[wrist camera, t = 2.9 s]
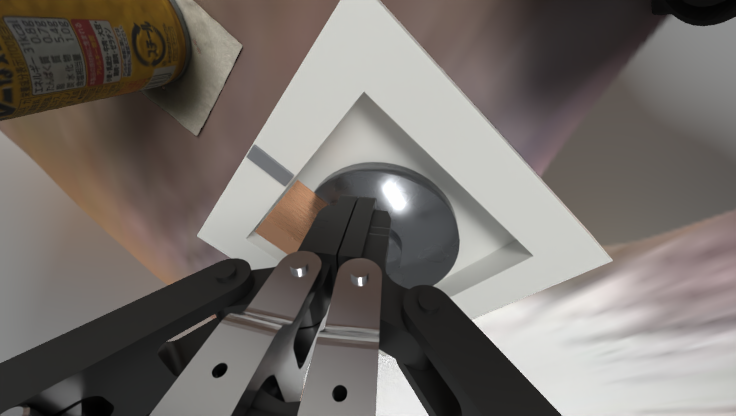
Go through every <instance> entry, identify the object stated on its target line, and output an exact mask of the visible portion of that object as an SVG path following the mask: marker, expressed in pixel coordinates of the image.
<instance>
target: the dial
mask: <svg viewBox="0 0 736 416" xmlns="http://www.w3.org/2000/svg"><path fill="white" fill-rule="evenodd" d="M340 195H351V196H358V197H359V196H362V197H372V198H377V207H376V210H382V211H388V213H389V215H390V217H391V230H390V241H389V251H388V258H387V265H386V273H387V275H388V276H389V277H390V279H391V280H392V281H394V282H395V283H397V284H398V285H400V286H403V287H405V288H407V289H410V288H412V287H414V286H417V285H430V286H434V285H435V284H437V283H438V282H439V281H441V280H442V279H443V278H444V277H445V276H446V275H447V274H448V273H449V272H450V270H451V269H452V267H453V266H454V264H455V262H456V259H457V257H458V252H459V245H460V239H459V231H458V225H457V220H456V216H455V212H454V209H453V207H452V205H451V203H450V201H449V200H448V198H447V197H446V195H445V194H444V193H443V192H442V191H441V189H440V188H439V187H438V186H437V185H435V184H434V183H433V182H432V181H431V180H429V179H428V178H426V177H425V176H423V175H421V174H420V173H418V172H416V171H414V170H411V169H409V168H406V167H403V166H400V165H396V164H391V163H384V162H365V163H359V164H353V165H350V166H347V167H344V168H342V169H340V170H338V171H336V172H334V173H332V174H331V175H329V176H328V177H326V178H325V179H324V180H323V181H322V182H321V183H320V184H319V185H318V187H317V188H316V189H315V191H314V192H313V191H311V190H310V189H309V188H308V187H306V186H305V185H304V184H302V183H301V182H300V181H299V180H297V181H296V182H295V183H294V184H293V186H292V187H291V188H290V189H289V190H288V192H287V193H286V194H285V195H284V196H283V198H282V199H281V200H280V201H279V203H278V204H277V205H276V206H275V207H274V209H273V210H272V211H271V212H270V213H269V215H268V216H267V217H266V218H265V219H264V221H263V222H262V223H261V224H260V225H259V227H258V228H257V229H256V230H255V232H256V233H257V234H259V235H260V236H261V237H263V238H264V239H266V240H267V241H269V242H270V243H272V244H273V245H274V246H276V247H277V248H279V249H280V250H282V251H283V252H285V253H286V254H288V255H289V254H291V253H293V252H297V250H298V249H299V247H300V245H301V243H302V241H303V239H304V238H305V236H306V234H307V232H308V230H309V229H310V228H311V225H312V223H313V221H314V220H315V218H316V216H317V214H318V212H319V211H320V210H321V209H323V208H324V207H325V206H327V205H334V206H335V205H336V203H337V201H338V199H339V197H340Z"/></svg>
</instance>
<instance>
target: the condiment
mask: <svg viewBox="0 0 736 416" xmlns="http://www.w3.org/2000/svg"><path fill="white" fill-rule="evenodd" d="M193 39H195V40H196V43H197V45H195V44H194V43H193ZM197 47H199V49H200V51H201V54H199V53H198V51H197ZM241 48H242V45H241V44H240V43H239V42H238V41H237V40H236V39H235V38H234V37H232V36H231V35H230V34H229V33H228V32H227V31H226V30H225V29H224V28H223V27H222V26H221V25H220V24H219V23H217V22H216V21H215V20H214V19H213V18H211V17H210V16H209V15H208V14H207V13H206V12H205V11H204V10H203V9H202V8H201V7H200V6H199V5H198V4H197V3H195V2H194V1H193V0H0V121H2V120H7V119H12V118H16V117H21V116H25V115H30V114H34V113H39V112H43V111H47V110H52V109H58V108H62V107H66V106H71V105H76V104H80V103H84V102H89V101H94V100H99V99H104V98H109V97H113V96H117V95H122V94H127V93H131V92H136V91H140V92H142V93H143V94H144V95H145V96H146V97H147V98H148V99H150V100H151V101H152V102H154V103H156V104H157V105H158V106H160V107H161V108H162V109H163V110H165V111H166V112H168V113H169V114H170V115H171V116H172V117H174V118H175V119H176V120H177V121H178V122H179V123H180V124H181V125H182V126H184V127H185V128H186V129H188V130H189V131H191V132H192V133H193V134H194V135H196V136H197V135H198V133H199V131H200V129H201V127H202V126H203V125H204V123H205V121H206V119H207V117H208V115H209V113H210V111H211V109H212V108H213V106H214V103H215V101H216V99H217V97H218V95H219V93H220V91H221V90H222V88H223V87H224V83H225V81H226V78H227V77H228V74H229V73H230V71H231V69H232V67H233V65H234V62H235V60H236V58H237V56H238V54H239V52H240V50H241ZM162 86H164V87H165V90H164V89H162V88H161V87H162Z"/></svg>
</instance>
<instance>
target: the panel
mask: <svg viewBox="0 0 736 416" xmlns="http://www.w3.org/2000/svg"><path fill="white" fill-rule="evenodd" d="M365 162H384V163H391V164H396V165H400V166H403V167H406V168H409V169H411V170H414V171H416V172H418V173H420V174H421V175H423V176H425V177H426V178H428V179H429V180H431V181H432V182H433V183H434V184H435V185H437V186H438V187H439V188H440V189H441V191H442V192H443V193H444V194H445V195H446V197H447V198H448V200H449V201H450V203H451V205H452V207H453V209H454V212H455V216H456V220H457V225H458V231H459V239H460V245H459V252H458V257H457V259H456V262H455V264H454V266H453V267H452V269H451V270H450V272H449V273H448V274H447V275H446V276H445V277H444V278H443V279H442V280H441V281H439V282H438V283H437V284H435V285H434V287H436V288H438V289H440V290H442V291H443V292H445V293H446V294H447V295H448V296H449V297H450V298H451V299H452V301H453V302H454V303H455V304H456V305H457V306H458V307H459V308H460V309H461V310H462V311H463V312H464V313H465V314H466V315H467V316H468V317H469V318H470V319H471V320H472V319H474V318H477V317H479V316H482V315H484V314H486V313H489V312H491V311H494V310H496V309H498V308H501V307H503V306H506V305H508V304H510V303H513V302H515V301H518V300H520V299H522V298H525V297H527V296H529V295H532V294H534V293H537V292H539V291H541V290H544V289H546V288H549V287H551V286H553V285H556V284H558V283H561V282H563V281H565V280H568V279H570V278H573V277H575V276H577V275H580V274H582V273H585V272H587V271H589V270H592V269H594V268H597V267H599V266H601V265H604V264H606V263H609V262H611V261H613V260H612V259H611V258H610V256H609V255H608V254H607V253H606V252H605V250H604V249H603V248H602V247H601V245H600V244H599V243H598V242H597V241H596V239H595V238H594V237H593V236H592V235H591V233H590V232H589V231H588V230H587V229H586V228H585V227H584V226H583V224H582V223H581V222H580V221H579V220H578V219H577V218H576V217H575V216H574V215H573V213H571V211H570V210H569V209H568V208H567V207H566V206H565V205H564V203H563V202H562V201H561V200H560V199H559V198H558V197H557V196H556V195H555V194H554V192H553V191H552V190H551V189H550V188H549V187H548V186H547V185H546V184H545V182H544V181H543V180H542V179H541V178H540V177H539V176H538V175H537V174H536V172H535V171H534V170H533V169H532V168H531V167H530V166H529V165H528V164H527V162H526V161H525V160H524V159H523V158H522V157H521V156H520V155H519V154H518V153H517V151H516V150H515V149H514V148H513V147H512V146H511V145H510V144H509V143H508V141H507V140H506V139H505V138H504V137H503V136H502V135H501V134H500V133H499V131H498V130H497V129H496V128H495V127H494V126H493V125H492V124H491V123H490V122H489V120H488V119H487V118H486V117H485V116H484V115H483V114H482V113H481V112H480V110H479V109H478V108H477V107H476V106H475V105H474V104H473V103H472V102H471V100H470V99H469V98H468V97H467V96H466V95H465V94H464V93H463V92H462V91H461V89H460V88H459V87H458V86H457V85H456V84H455V83H454V82H453V81H452V79H451V78H450V77H449V76H448V75H447V74H446V73H445V72H444V71H443V69H442V68H441V67H440V66H439V65H438V64H437V63H436V62H435V61H434V59H433V58H432V57H431V56H430V55H429V54H428V53H427V52H426V51H425V50H424V48H423V47H422V46H421V45H420V44H419V43H418V42H417V41H416V40H415V38H414V37H413V36H412V35H411V34H410V33H409V32H408V31H407V30H406V28H405V27H404V26H403V25H402V24H401V23H400V22H399V21H398V20H397V19H396V17H395V16H394V15H393V14H392V13H391V12H390V11H389V10H388V9H387V7H386V6H385V5H384V4H383V3H382V2H381V1H380V0H340V2H339V4H338V5H337V7H336V9H335V10H334V12H333V13H332V15H331V17H330V18H329V20H328V22H327V23H326V25H325V27H324V28H323V30H322V31H321V33H320V35H319V36H318V38H317V40H316V41H315V43H314V45H313V46H312V48H311V50H310V51H309V53H308V54H307V56H306V58H305V59H304V61H303V63H302V64H301V66H300V68H299V69H298V71H297V72H296V74H295V76H294V77H293V79H292V81H291V82H290V84H289V86H288V87H287V89H286V91H285V92H284V94H283V95H282V97H281V99H280V100H279V102H278V104H277V105H276V107H275V109H274V110H273V112H272V113H271V115H270V117H269V118H268V120H267V122H266V123H265V125H264V127H263V128H262V130H261V132H260V133H259V135H258V136H257V138H256V140H255V141H254V143H253V145H252V146H251V148H250V150H249V151H248V153H247V155H246V156H245V158H244V159H243V161H242V163H241V164H240V166H239V168H238V169H237V171H236V173H235V174H234V176H233V177H232V179H231V181H230V182H229V184H228V186H227V187H226V189H225V191H224V192H223V194H222V196H221V197H220V199H219V200H218V202H217V204H216V205H215V207H214V209H213V210H212V212H211V214H210V215H209V217H208V218H207V220H206V222H205V223H204V225H203V227H202V228H201V230H200V232H199V233H198V235H197V236H198V237H199V238H201V239H202V240H204V241H205V242H207V243H208V244H210V245H212V246H213V247H215V248H216V249H218V250H219V251H221V252H222V253H224V254H226V255H227V256H229V257H230V258H239V259H243V260H245V261H247V262H248V263H249V265H250V267H251V270H255V269H263V268H271V267H276V266H277V265H278V263H279V262H280V261H281V260H282V259H283V258H284V257H285V256H287V255H288V254H286V253H285V252H283V251H282V250H280V249H279V248H277V247H276V246H274V245H273V244H272V243H270V242H269V241H267V240H266V239H264V238H263V237H261V236H260V235H259V234H257V233H256V232H255V230H256V229H257V228H258V227H259V225H260V224H261V223H262V222H263V221H264V219H265V218H266V217H267V216H268V215H269V213H270V212H271V211H272V210H273V209H274V207H275V206H276V205H277V204H278V203H279V201H280V200H281V199H282V198H283V196H284V195H285V194H286V193H287V192H288V190H289V189H290V188H291V187H292V186H293V184H294V183H295V182H296V181H297V180H299V181H300V182H301V183H302V184H304V185H305V186H306V187H308V188H309V189H310V190H311V191H313V192H314V191H315V189H316V188H317V187H318V185H319V184H320V183H321V182H322V181H323V180H324V179H325V178H326V177H328V176H329V175H331V174H332V173H334V172H336V171H338V170H340V169H342V168H344V167H347V166H350V165H353V164H359V163H365ZM329 306H330V305H329ZM328 311H329V308H328ZM328 311H327V315H328ZM379 353H380V354H381V355H383V356H386V355H388V354H386V353H385V352H383V351H381V350H379Z"/></svg>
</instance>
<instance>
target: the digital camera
mask: <svg viewBox="0 0 736 416" xmlns="http://www.w3.org/2000/svg"><path fill="white" fill-rule="evenodd" d="M651 1H652V13H653V14H654V15H665V14H672V15H674V16H675V17H677V18H678V19H680V20H681V21H683V22H685V23H688V24H691V25H697V26H708V25H715V24H719V23H722V22H725V21H727V20H729V19H732V18H734V17H736V0H651Z"/></svg>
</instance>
